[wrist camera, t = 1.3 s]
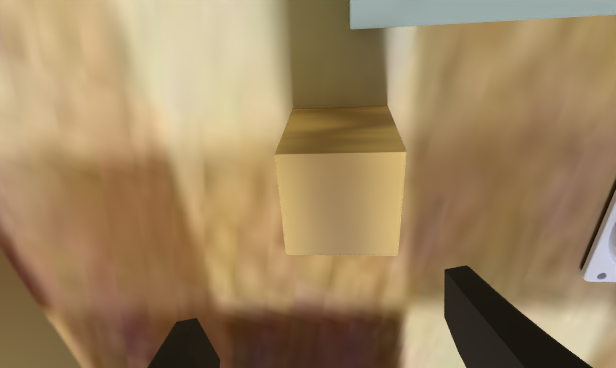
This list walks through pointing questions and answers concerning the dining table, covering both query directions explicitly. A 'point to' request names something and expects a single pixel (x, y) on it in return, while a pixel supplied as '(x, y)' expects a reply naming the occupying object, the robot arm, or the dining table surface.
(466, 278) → the robot arm
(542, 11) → the base block
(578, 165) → the dining table surface
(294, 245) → the ochre block
